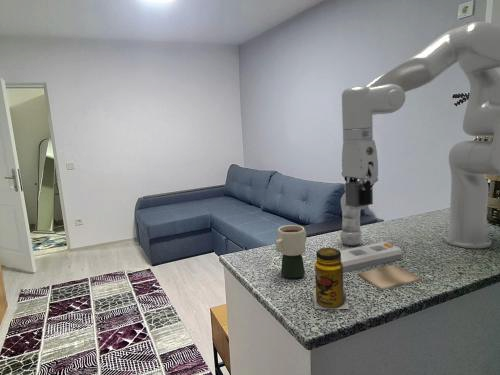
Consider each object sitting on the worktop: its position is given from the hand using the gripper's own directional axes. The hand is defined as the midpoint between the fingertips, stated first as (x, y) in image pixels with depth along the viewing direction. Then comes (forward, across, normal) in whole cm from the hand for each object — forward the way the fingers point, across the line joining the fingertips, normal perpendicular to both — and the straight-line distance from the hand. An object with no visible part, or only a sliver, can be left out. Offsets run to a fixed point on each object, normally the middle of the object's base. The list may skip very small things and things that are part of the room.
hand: (359, 201), depth 91 cm
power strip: (+18, 0, -1) cm, 18 cm away
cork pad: (+18, -11, 0) cm, 21 cm away
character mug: (+18, +1, +21) cm, 27 cm away
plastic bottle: (+18, +13, -6) cm, 23 cm away
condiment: (+18, -14, +19) cm, 29 cm away
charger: (+2, 0, 0) cm, 2 cm away
